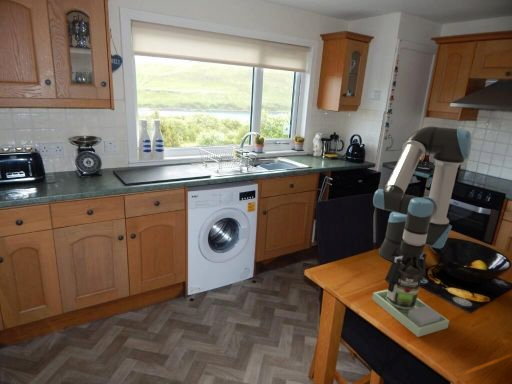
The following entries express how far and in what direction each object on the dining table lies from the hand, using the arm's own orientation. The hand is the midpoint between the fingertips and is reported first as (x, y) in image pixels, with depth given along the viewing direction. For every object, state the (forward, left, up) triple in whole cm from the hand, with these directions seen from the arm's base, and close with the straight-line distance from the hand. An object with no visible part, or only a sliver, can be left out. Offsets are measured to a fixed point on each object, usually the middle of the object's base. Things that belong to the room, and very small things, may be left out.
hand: (401, 295), depth 126 cm
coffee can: (0, 0, -2) cm, 2 cm away
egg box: (0, +11, -5) cm, 11 cm away
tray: (0, +4, -5) cm, 6 cm away
